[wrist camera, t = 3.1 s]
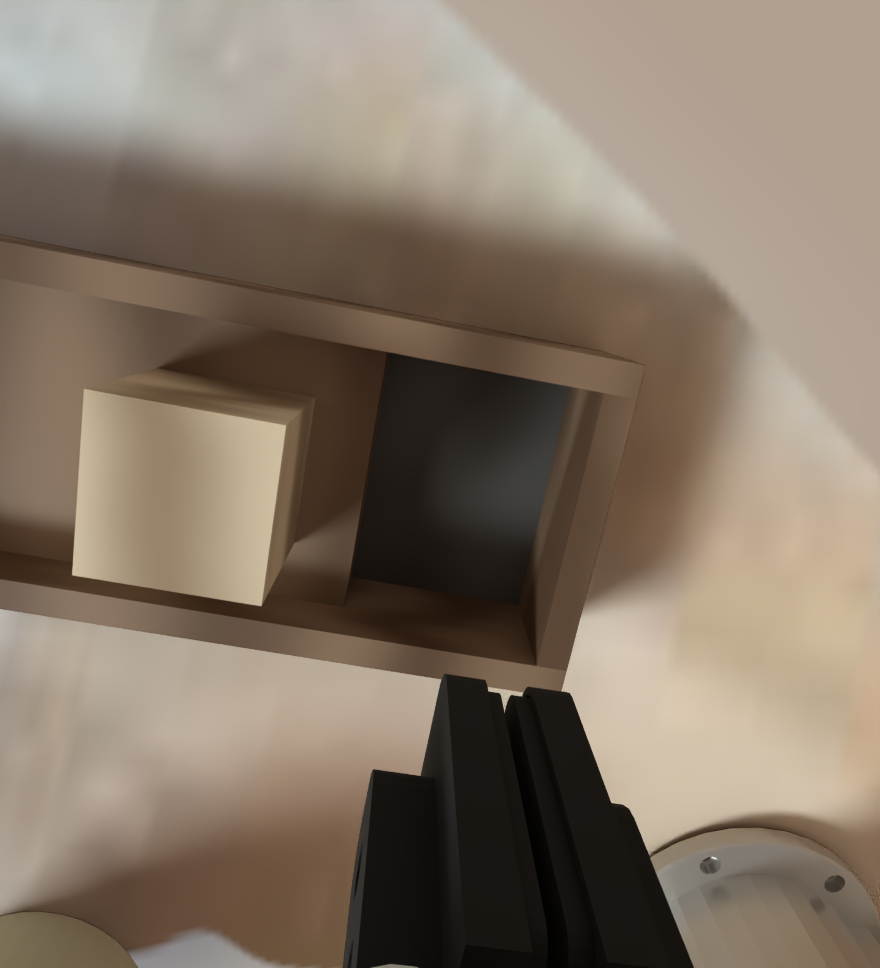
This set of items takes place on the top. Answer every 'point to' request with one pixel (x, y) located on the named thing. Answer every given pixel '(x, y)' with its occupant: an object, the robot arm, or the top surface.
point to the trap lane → (328, 466)
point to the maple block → (189, 484)
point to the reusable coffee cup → (57, 943)
